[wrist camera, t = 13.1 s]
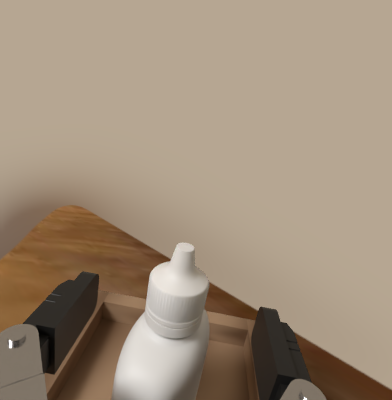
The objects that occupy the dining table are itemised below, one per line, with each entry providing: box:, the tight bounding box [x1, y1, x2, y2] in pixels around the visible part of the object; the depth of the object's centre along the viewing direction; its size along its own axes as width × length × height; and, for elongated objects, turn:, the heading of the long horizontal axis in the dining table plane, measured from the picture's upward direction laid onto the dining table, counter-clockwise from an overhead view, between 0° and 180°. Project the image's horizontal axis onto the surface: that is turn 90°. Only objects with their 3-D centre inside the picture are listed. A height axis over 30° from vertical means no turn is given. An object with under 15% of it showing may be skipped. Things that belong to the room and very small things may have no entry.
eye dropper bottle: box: [111, 243, 210, 400], centre depth 12 cm, size 4×6×12 cm
